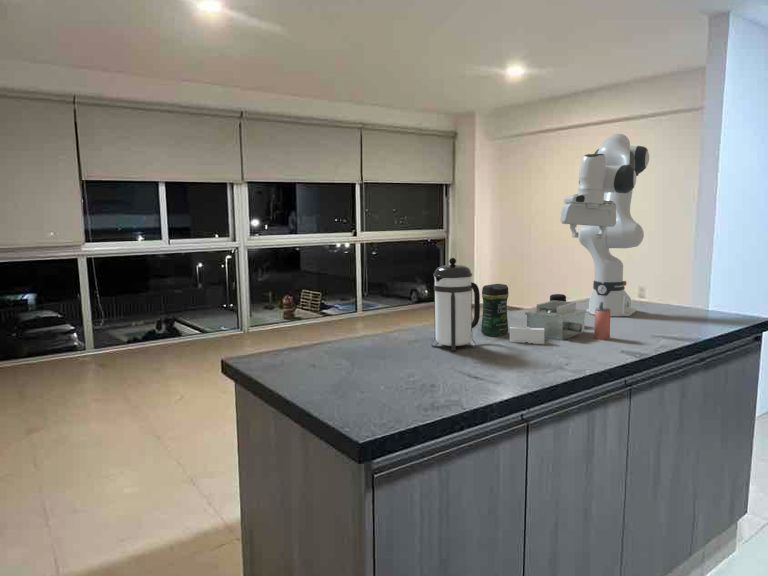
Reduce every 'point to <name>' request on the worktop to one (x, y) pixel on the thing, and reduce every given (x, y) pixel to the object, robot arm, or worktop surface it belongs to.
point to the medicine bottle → (558, 297)
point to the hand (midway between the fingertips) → (587, 238)
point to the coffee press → (454, 305)
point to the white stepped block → (527, 335)
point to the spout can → (602, 323)
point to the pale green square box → (557, 319)
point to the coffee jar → (494, 310)
